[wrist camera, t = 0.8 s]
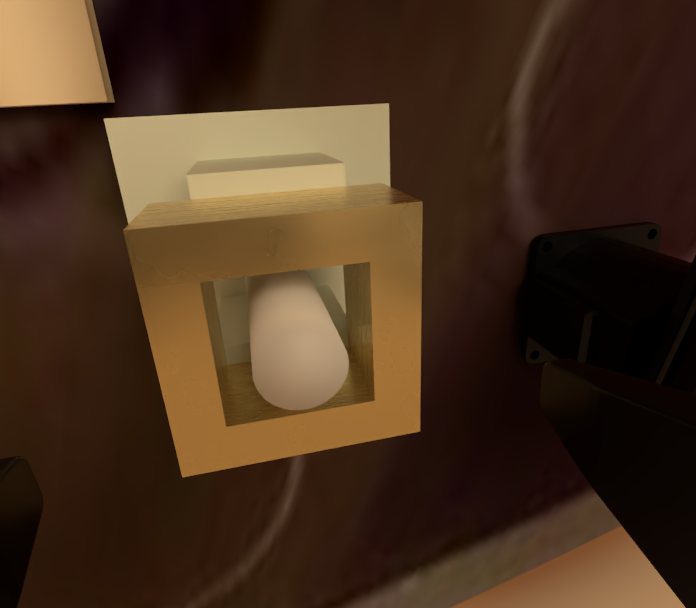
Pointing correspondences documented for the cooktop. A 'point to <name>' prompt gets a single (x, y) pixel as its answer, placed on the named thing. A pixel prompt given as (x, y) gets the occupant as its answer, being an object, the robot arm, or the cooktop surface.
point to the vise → (255, 178)
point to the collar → (274, 257)
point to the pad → (51, 54)
